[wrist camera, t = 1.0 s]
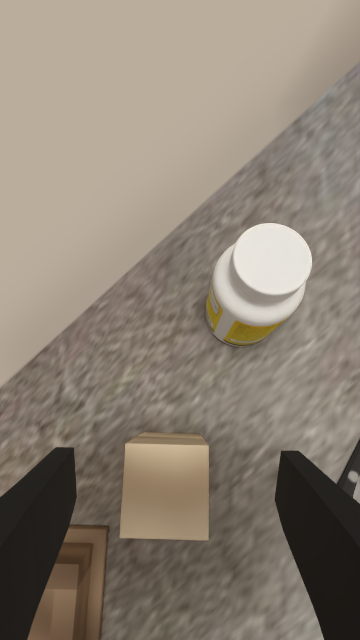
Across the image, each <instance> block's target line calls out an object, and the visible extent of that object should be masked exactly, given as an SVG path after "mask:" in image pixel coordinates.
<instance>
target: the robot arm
mask: <svg viewBox="0 0 360 640" xmlns="http://www.w3.org/2000/svg"><path fill="white" fill-rule="evenodd" d="M76 498H77V494H76V477H75V460H74V448H64V447H56V448H55V449H54V450H53V451H51V452H50V453H49V454H48V455H47V456H46V457H45V458H44V459H43V460H42V461H40V462H39V463H38V464H37V465H36V466H35V467H34V468H33V469H32V470H31V471H30V472H29V473H27V474H26V475H25V476H24V477H23V478H22V479H21V480H20V481H19V482H17V483H16V484H15V485H14V486H13V487H12V488H11V489H10V490H8V491H7V492H6V493H5V494H4V495H2V496H1V497H0V640H27V639H28V636H29V633H30V629H31V626H32V623H33V620H34V617H35V614H36V611H37V609H38V606H39V603H40V600H41V598H42V595H43V593H44V590H45V588H46V585H47V582H48V580H49V577H50V575H51V572H52V570H53V567H54V564H55V562H56V559H57V557H58V554H59V552H60V549H61V546H62V544H63V541H64V539H65V536H66V533H67V531H68V528H69V524H70V521H71V517H72V513H73V509H74V506H75V502H76ZM275 502H276V506H277V510H278V513H279V517H280V521H281V524H282V528H283V531H284V534H285V536H286V539H287V541H288V544H289V546H290V549H291V552H292V554H293V557H294V559H295V562H296V564H297V567H298V569H299V572H300V574H301V577H302V579H303V582H304V584H305V587H306V589H307V592H308V594H309V597H310V599H311V602H312V604H313V607H314V610H315V613H316V616H317V618H318V621H319V624H320V627H321V631H322V634H323V637H324V640H360V504H359V503H358V502H357V501H356V500H355V499H353V498H352V497H351V496H350V495H348V494H347V493H346V492H345V491H344V490H343V489H341V488H340V487H339V486H338V485H337V484H336V483H334V482H333V481H332V480H331V479H330V478H329V477H328V476H326V475H325V474H324V473H323V472H322V471H321V470H320V469H319V468H317V467H316V466H315V465H314V464H313V463H312V462H311V461H310V460H309V459H307V458H306V457H305V456H304V455H303V454H302V453H300V452H299V451H281V456H280V463H279V471H278V478H277V486H276V493H275Z"/></svg>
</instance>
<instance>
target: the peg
mask: <svg viewBox="0 0 360 640" xmlns="http://www.w3.org/2000/svg"><path fill="white" fill-rule="evenodd" d="M119 538H139V539H173V540H207V541H209V445H208V444H207V443H206V441H205V440H204V439H203V438H202V436H201V435H200V434H190V433H154V432H143V433H141V434H140V435H138V436H136V437H135V438H133V439H132V440H130V441H128V442H127V443H126V444H125V460H124V475H123V491H122V506H121V521H120V537H119Z"/></svg>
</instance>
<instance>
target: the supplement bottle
mask: <svg viewBox="0 0 360 640" xmlns="http://www.w3.org/2000/svg"><path fill="white" fill-rule="evenodd" d="M311 267H312V257H311V252H310V249H309V247H308V245H307V243H306V242H305V240H304V239H303V238H302V237H301V236H300V235H299V234H298V233H297V232H295V231H294V230H292V229H290V228H289V227H286V226H284V225H280V224H274V223H265V224H259V225H256V226H254V227H252V228H250V229H248V230H247V231H245V232H244V233H243V234H242V235H241V236H240V237H239V239H238V240H237V242H236V243H235V244H234V245H232V246H231V247H229V248H228V249H227V250H226V251H225V252H224V253H223V254H222V256H221V257H220V259H219V260H218V262H217V264H216V267H215V269H214V273H213V277H212V281H211V285H210V289H209V293H208V297H207V301H206V307H205V316H206V321H207V324H208V326H209V328H210V330H211V331H212V333H213V334H214V335H215V336H216V337H217V338H218V339H219V340H221V341H222V342H224V343H226V344H229V345H232V346H237V347H246V346H251V345H254V344H256V343H258V342H260V341H261V340H263V339H264V338H265V337H267V336H268V335H269V334H270V333H271V332H272V331H273V330H274V329H275V328H277V327H278V326H279V325H280V324H281V323H282V322H283V321H284V320H285V319H287V318H288V317H289V316H290V315H291V314H292V313H293V312H294V311H295V309H296V308H297V307H298V305H299V304H300V302H301V300H302V298H303V295H304V291H305V281H306V280H307V278H308V277H309V274H310V271H311Z"/></svg>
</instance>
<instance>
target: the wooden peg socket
mask: <svg viewBox="0 0 360 640" xmlns="http://www.w3.org/2000/svg"><path fill="white" fill-rule="evenodd" d="M107 537H108V526H79V525H69V528H68V531H67V533H66V536H65V539H64V541H63V544H62V546H61V549H60V552H59V554H58V557H57V559H56V562H55V564H54V567H53V570H52V572H51V575H50V577H49V580H48V582H47V585H46V588H45V590H44V593H43V595H42V598H41V600H40V603H39V606H38V609H37V611H36V614H35V617H34V620H33V623H32V626H31V629H30V633H29V636H28V639H27V640H100V633H101V619H102V605H103V592H104V578H105V564H106V551H107Z"/></svg>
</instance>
